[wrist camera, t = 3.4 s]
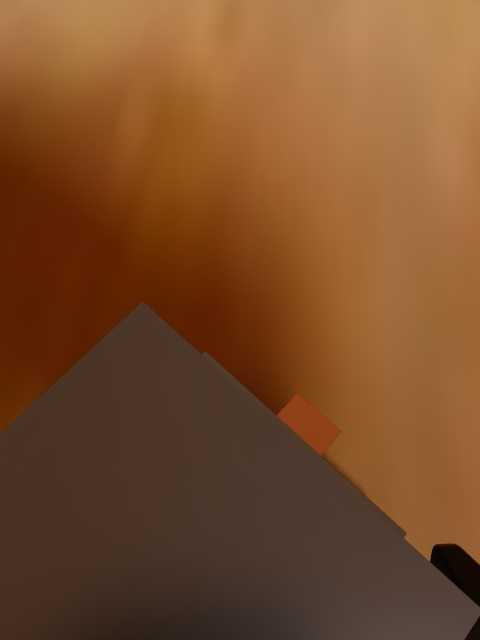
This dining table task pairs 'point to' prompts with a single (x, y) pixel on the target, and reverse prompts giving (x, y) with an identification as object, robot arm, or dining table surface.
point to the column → (192, 516)
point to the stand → (308, 433)
